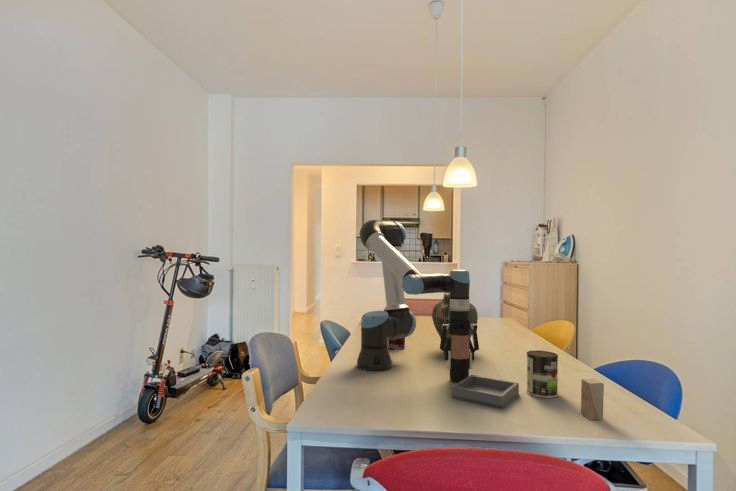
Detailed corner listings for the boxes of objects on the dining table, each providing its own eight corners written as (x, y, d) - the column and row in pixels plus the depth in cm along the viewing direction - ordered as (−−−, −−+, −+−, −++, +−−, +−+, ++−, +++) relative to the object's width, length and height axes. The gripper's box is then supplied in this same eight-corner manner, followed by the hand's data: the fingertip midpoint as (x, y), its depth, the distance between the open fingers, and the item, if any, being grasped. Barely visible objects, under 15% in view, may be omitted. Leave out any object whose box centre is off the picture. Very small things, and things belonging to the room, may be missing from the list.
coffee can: (564, 395, 153) (564, 355, 153) (543, 400, 148) (543, 358, 148) (540, 387, 162) (540, 349, 162) (520, 391, 157) (520, 351, 157)
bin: (451, 398, 149) (451, 386, 149) (471, 385, 164) (471, 374, 164) (502, 409, 139) (502, 396, 139) (518, 394, 153) (518, 383, 153)
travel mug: (455, 382, 165) (455, 329, 165) (445, 377, 172) (445, 326, 172) (473, 381, 168) (473, 328, 168) (462, 375, 175) (462, 325, 175)
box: (580, 414, 135) (580, 378, 136) (593, 413, 136) (593, 377, 136) (590, 420, 130) (590, 383, 130) (604, 420, 131) (604, 382, 131)
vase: (482, 358, 205) (482, 294, 205) (435, 357, 205) (435, 293, 206) (472, 347, 227) (472, 289, 228) (429, 347, 227) (429, 289, 228)
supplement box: (388, 348, 223) (388, 317, 223) (388, 346, 228) (388, 316, 228) (405, 349, 222) (405, 318, 222) (405, 347, 227) (405, 316, 227)
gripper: (435, 311, 166) (435, 371, 165) (488, 310, 167) (488, 370, 167) (431, 308, 173) (431, 366, 173) (481, 308, 175) (481, 365, 175)
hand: (459, 368), depth 170 cm, fingers closed on travel mug, 8 cm apart
